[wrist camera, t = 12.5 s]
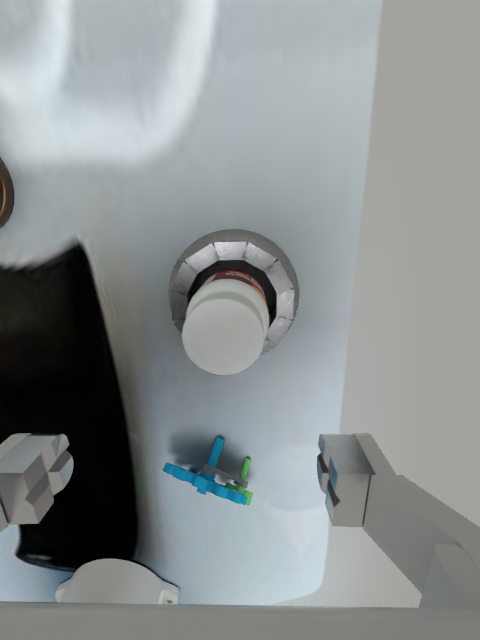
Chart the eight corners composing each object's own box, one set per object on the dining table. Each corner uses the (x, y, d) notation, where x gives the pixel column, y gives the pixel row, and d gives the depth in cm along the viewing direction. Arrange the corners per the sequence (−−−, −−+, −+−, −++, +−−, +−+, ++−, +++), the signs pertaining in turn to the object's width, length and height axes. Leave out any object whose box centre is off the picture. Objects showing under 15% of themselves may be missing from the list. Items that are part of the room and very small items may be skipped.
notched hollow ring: (294, 352, 31) (301, 370, 27) (177, 353, 31) (167, 370, 27) (300, 228, 27) (309, 227, 23) (165, 231, 27) (152, 230, 23)
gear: (151, 469, 34) (173, 487, 26) (173, 421, 37) (200, 423, 28) (226, 499, 37) (268, 523, 29) (241, 453, 40) (283, 463, 32)
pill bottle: (275, 287, 28) (294, 323, 17) (242, 337, 29) (240, 399, 18) (221, 254, 27) (204, 269, 16) (190, 307, 28) (156, 353, 18)
